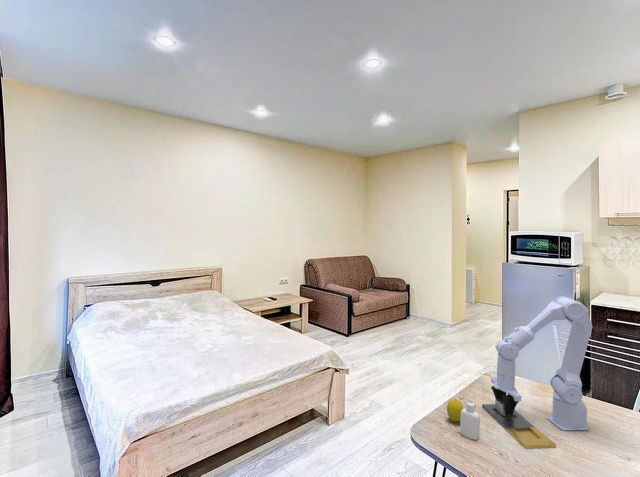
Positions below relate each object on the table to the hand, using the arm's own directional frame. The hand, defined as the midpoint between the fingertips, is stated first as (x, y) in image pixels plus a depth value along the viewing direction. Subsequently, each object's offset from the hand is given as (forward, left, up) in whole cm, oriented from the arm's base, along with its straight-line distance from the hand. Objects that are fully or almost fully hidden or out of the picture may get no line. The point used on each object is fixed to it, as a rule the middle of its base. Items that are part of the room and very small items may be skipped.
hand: (504, 410), depth 121 cm
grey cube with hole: (0, 0, -2) cm, 2 cm away
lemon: (+20, +3, -2) cm, 20 cm away
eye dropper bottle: (+19, +11, -2) cm, 22 cm away
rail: (0, +6, -2) cm, 6 cm away
